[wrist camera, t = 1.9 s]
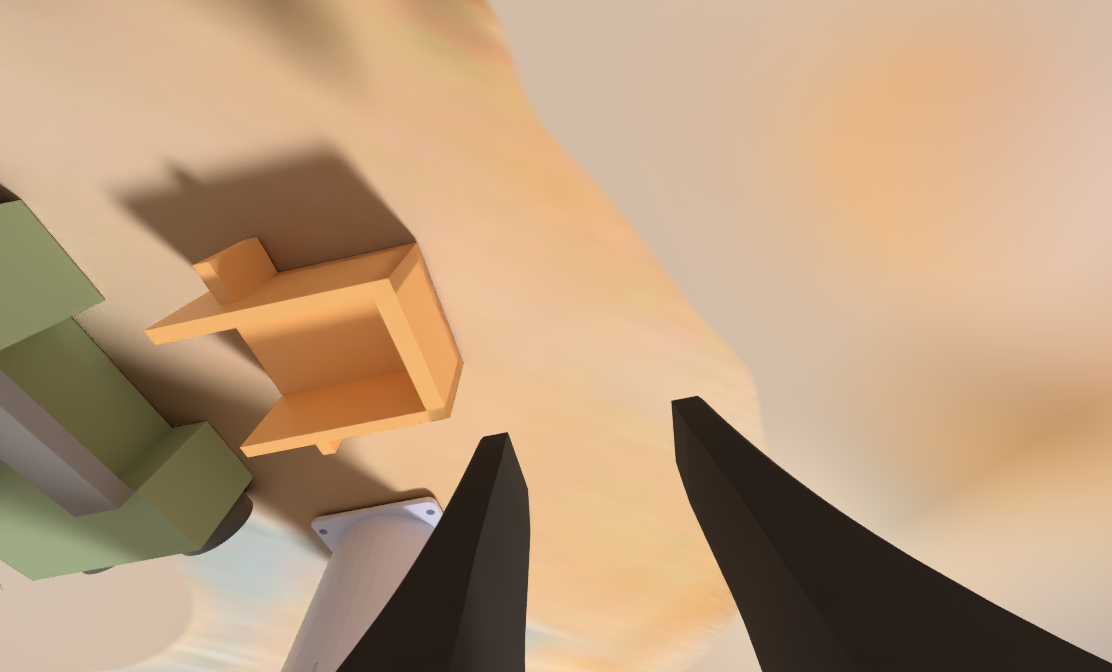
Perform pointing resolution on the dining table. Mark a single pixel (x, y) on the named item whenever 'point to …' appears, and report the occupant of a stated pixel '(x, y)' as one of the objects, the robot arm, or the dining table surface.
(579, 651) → the dining table surface
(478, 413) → the dining table surface
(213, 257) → the wooden drawer
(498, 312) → the dining table surface
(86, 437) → the green block with wheels
